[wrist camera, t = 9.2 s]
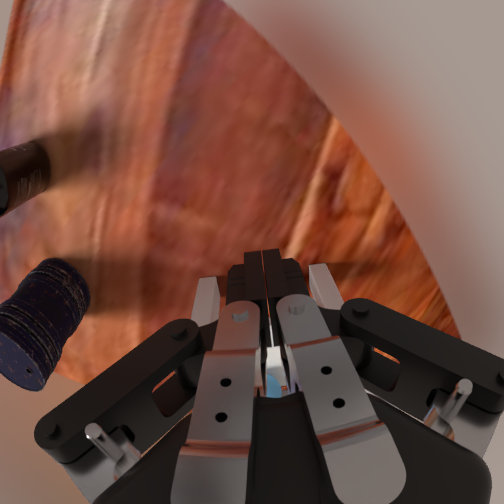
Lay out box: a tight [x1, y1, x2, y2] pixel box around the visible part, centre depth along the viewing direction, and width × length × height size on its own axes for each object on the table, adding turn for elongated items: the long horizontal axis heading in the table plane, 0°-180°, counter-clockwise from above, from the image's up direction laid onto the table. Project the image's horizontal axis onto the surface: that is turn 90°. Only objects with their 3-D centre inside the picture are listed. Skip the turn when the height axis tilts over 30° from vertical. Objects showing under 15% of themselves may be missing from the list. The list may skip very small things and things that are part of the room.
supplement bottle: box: [0, 142, 50, 218], centre depth 23 cm, size 7×7×12 cm
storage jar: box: [0, 258, 90, 392], centre depth 29 cm, size 10×10×15 cm
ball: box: [267, 374, 282, 398], centre depth 42 cm, size 6×6×6 cm
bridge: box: [191, 263, 344, 349], centre depth 32 cm, size 3×15×10 cm, turn 97°
